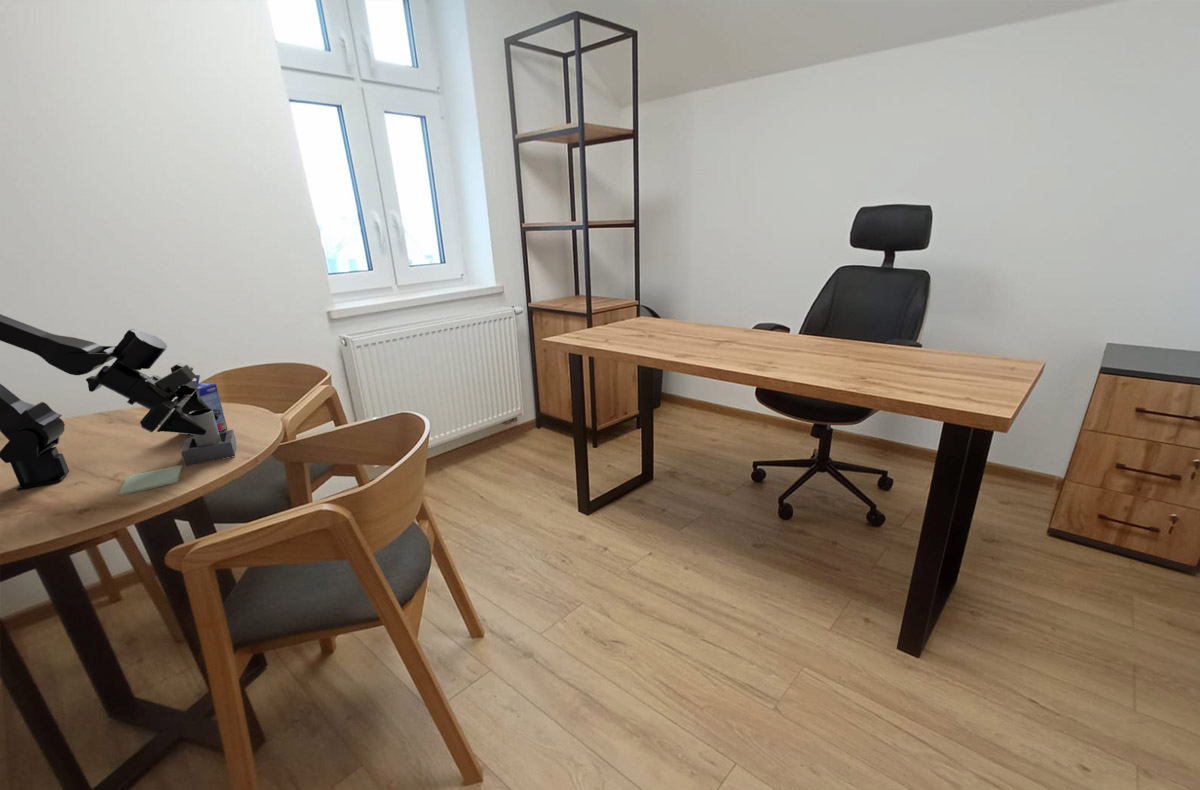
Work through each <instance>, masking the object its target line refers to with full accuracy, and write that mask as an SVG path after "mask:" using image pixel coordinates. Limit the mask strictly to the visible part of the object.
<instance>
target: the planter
mask: <svg viewBox="0 0 1200 790" xmlns="http://www.w3.org/2000/svg"><path fill="white" fill-rule="evenodd" d="M187 415H188V418H189V419H191V420H192V421H194V422H195V423H197V424H198V425H200V426H201V427H203V428H204V429H205V430H206V431H207V432H206V433H205V434H204V435H197V434H193V435H192V436H193V437H194V439H195V442H196V445H197V447H199V446H204V445H210V444H215V443H220V442H222V441H221V438H220V434H219V431H218V427H217V424H216V420H215V417H214V413H213V410H212V409H199V410H195V411H192V412H190V413H188V414H187Z"/></svg>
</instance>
